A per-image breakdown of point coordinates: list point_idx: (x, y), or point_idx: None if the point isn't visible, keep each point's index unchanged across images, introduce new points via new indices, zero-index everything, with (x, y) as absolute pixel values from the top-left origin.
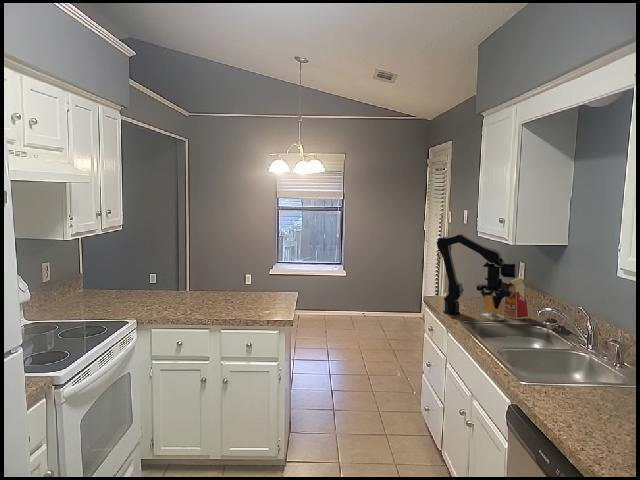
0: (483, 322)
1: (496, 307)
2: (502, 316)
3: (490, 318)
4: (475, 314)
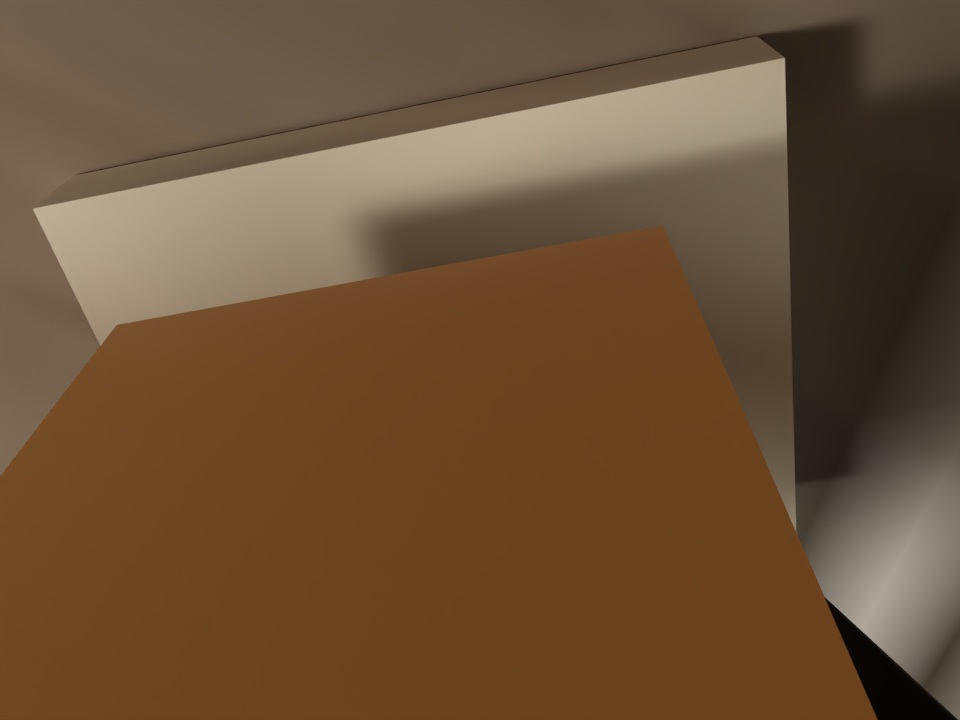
0: None
1: None
2: (680, 113)
3: None
4: None
